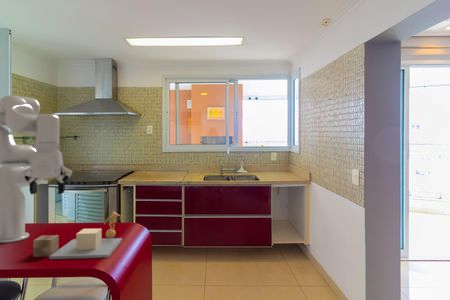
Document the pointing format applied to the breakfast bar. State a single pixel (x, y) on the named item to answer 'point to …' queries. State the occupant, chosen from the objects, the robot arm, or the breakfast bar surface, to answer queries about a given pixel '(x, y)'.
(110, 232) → the figurine
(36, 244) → the walnut cube
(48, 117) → the robot arm
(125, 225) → the breakfast bar surface
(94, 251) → the base plate
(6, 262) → the breakfast bar surface
